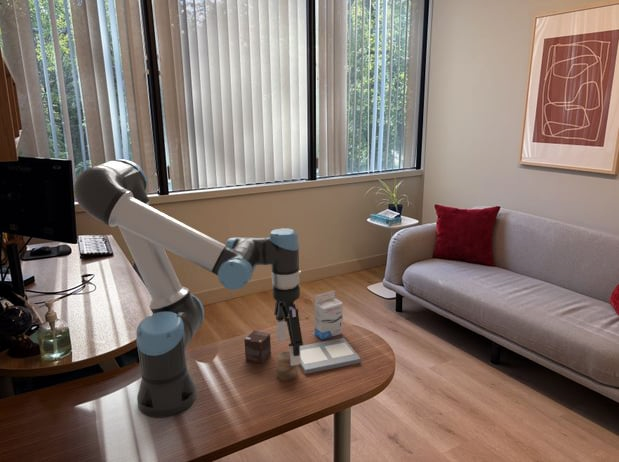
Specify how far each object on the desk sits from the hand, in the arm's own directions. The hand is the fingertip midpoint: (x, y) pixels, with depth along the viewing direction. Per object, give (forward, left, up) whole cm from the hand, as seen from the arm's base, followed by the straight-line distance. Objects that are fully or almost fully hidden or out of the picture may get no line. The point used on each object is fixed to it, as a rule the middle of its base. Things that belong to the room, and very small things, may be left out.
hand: (288, 351), depth 134 cm
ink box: (+20, +18, -8) cm, 28 cm away
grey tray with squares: (+14, +5, -8) cm, 16 cm away
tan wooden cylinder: (0, 0, -8) cm, 8 cm away
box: (-6, +12, -8) cm, 16 cm away
